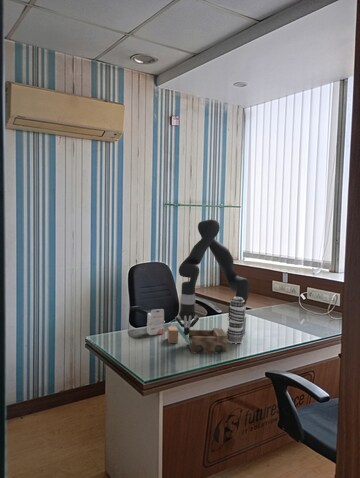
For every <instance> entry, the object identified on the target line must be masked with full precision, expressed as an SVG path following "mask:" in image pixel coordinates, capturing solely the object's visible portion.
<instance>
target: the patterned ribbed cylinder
mask: <svg viewBox="0 0 360 478" xmlns="http://www.w3.org/2000/svg"><path fill="white" fill-rule="evenodd" d="M232 297H233V298H232ZM232 297H231V298H232V299H231V298H230V300H229V301H230V304H229V306H228V316H227V317H228V319H227V320H228V328H227V334H226V335H227V343H229V342H230V343H229V344H232V343H235V344H234V345H238V344H237V343H241V344H242V343H243V334H244V333H242V332H243V330H242V329H243V326H242V324H243V322H244V320H243V319H244V317H243V316H244V315H245V316H246V312H245V311H243V309H244V302H245V301H244V300H243V298H241V297H236V296H232ZM244 312H245V314H244Z"/></svg>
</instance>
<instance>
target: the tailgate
mask: <svg viewBox="0 0 360 478" xmlns="http://www.w3.org/2000/svg"><path fill="white" fill-rule="evenodd" d="M175 327H177V329H178V334H180V335H181V337H182V338H183V339H184V341H185V342H186V343H187V345H188V347H189V346H190V341H189V335H185V334H184V328H183V327H181V326H180V324H179V323H178V322H177V323H175Z"/></svg>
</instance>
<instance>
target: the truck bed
mask: <svg viewBox="0 0 360 478" xmlns="http://www.w3.org/2000/svg"><path fill="white" fill-rule="evenodd" d="M227 337H228V336H227V334H226V332H225V330H224V329H223V328H221V327H219V328H218V327H217V328H216V327H214V328H212V329H190V332H189V334H188V338H189V341H190V346H189V345H188V347H189V350H190V352H191V353H197V354H202V353H204V354H205V353H212V354H213V353H214V352H216V354H222V353H221V352H226V353H227V345H228V344H227V343H228V341H227ZM214 354H215V353H214Z"/></svg>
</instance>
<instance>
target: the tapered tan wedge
mask: <svg viewBox="0 0 360 478" xmlns="http://www.w3.org/2000/svg"><path fill="white" fill-rule="evenodd" d="M166 340H167V342H168V344H178V343H179V332H178V329H177V327H176V325H175V326H167V339H166Z"/></svg>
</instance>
